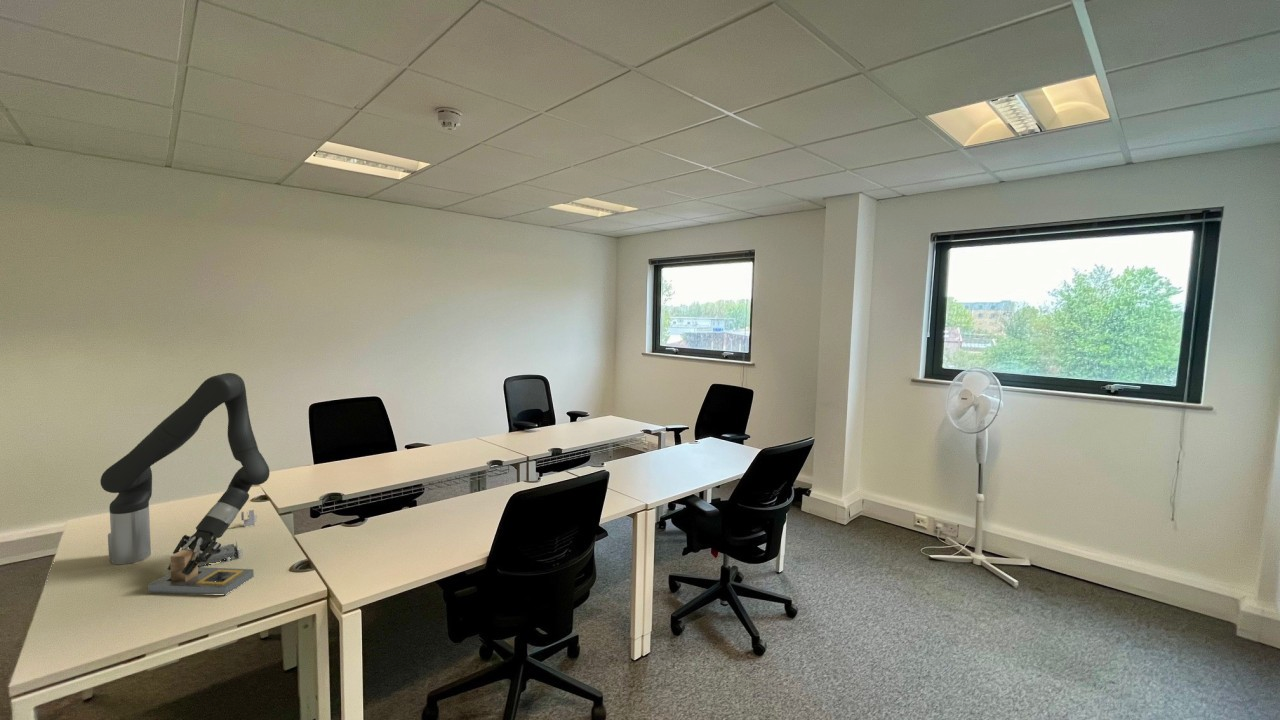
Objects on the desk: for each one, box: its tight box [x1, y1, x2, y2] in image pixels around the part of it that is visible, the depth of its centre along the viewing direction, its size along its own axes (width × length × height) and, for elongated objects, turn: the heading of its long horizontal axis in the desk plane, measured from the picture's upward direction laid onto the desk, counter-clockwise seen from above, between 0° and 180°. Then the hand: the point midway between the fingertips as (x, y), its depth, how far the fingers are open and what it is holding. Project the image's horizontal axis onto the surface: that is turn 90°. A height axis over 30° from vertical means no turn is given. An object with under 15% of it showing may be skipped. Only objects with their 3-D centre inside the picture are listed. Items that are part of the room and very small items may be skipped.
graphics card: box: [198, 539, 244, 567], centre depth 171 cm, size 17×4×12 cm
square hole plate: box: [147, 566, 255, 596], centre depth 155 cm, size 23×11×3 cm, turn 90°
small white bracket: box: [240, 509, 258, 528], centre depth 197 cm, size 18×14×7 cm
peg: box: [169, 549, 198, 582], centre depth 155 cm, size 4×4×10 cm
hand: (177, 572), depth 153 cm, fingers closed on peg, 5 cm apart
